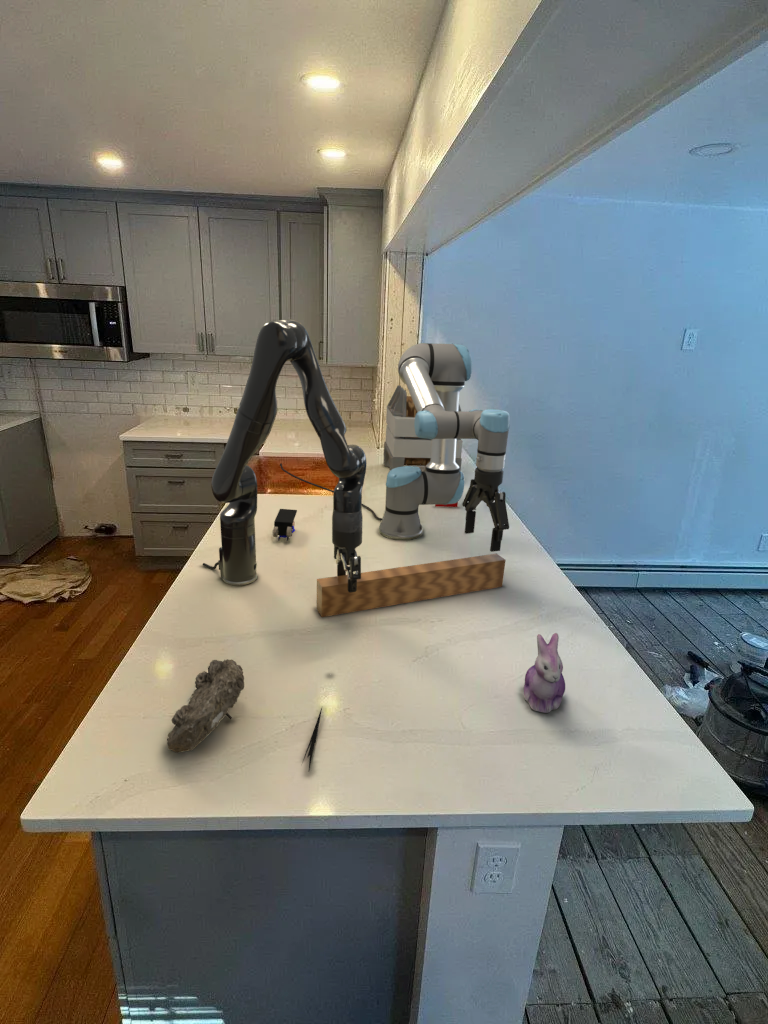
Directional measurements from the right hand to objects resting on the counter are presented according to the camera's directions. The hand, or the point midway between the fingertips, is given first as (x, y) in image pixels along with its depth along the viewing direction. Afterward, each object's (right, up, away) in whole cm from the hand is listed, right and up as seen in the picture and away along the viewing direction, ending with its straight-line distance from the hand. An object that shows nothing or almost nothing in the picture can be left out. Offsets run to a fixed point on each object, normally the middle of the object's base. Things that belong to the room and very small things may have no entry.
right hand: (481, 541), depth 159 cm
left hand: (-37, -10, -13) cm, 41 cm away
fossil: (-60, -31, -51) cm, 85 cm away
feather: (-40, -32, -51) cm, 72 cm away
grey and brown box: (-10, +27, +116) cm, 119 cm away
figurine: (+6, -31, -42) cm, 52 cm away
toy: (-3, +15, +82) cm, 84 cm away
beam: (-19, -15, -3) cm, 25 cm away
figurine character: (-61, 0, +34) cm, 70 cm away
